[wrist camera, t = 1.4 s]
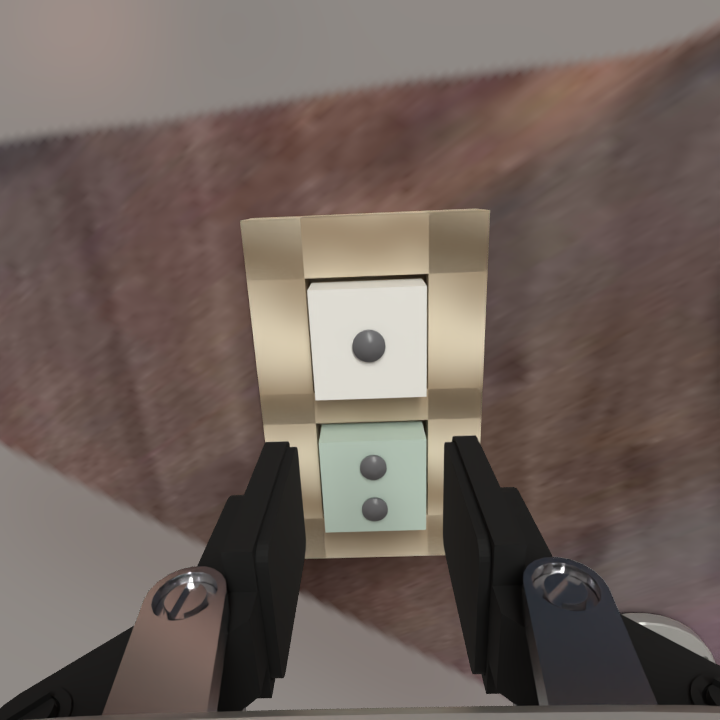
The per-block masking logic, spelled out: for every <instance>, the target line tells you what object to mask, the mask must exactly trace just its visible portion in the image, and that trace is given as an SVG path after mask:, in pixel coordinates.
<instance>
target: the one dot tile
mask: <svg viewBox="0 0 720 720" xmlns="http://www.w3.org/2000/svg"><path fill="white" fill-rule="evenodd" d="M307 295H308V308H309V322H310V335H311V348H312V361H313V374H314V388H315V400H344V399H374V398H403V397H426V391H427V285H426V284H425V283H424V281H423V280H422V278H418V279H392V280H366V281H341V282H315V283H311V285H310V287H309V288H308V290H307Z"/></svg>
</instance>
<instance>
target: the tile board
mask: <svg viewBox="0 0 720 720" xmlns="http://www.w3.org/2000/svg"><path fill="white" fill-rule="evenodd" d="M489 220H490V210H483V209H459V210H435V211H411V212H387V213H364V214H340V215H316V216H292V217H269V218H252V219H247V220H242V221H240V224H241V233H242V242H243V251H244V259H245V268H246V277H247V286H248V294H249V303H250V312H251V321H252V329H253V338H254V347H255V356H256V364H257V373H258V382H259V391H260V399H261V408H262V417H263V426H264V434H265V443H266V442H282V441H288V442H289V444H290V447H297V449H298V456H299V467H300V478H301V489H302V500H303V511H304V522H305V533H306V552H305V559H316V558H354V557H392V556H430V555H445V551H444V545H443V482H444V443H445V442H452V437H453V436H471V435H476V436H477V438H478V440H479V442H480V435H481V411H482V387H483V363H484V339H485V316H486V292H487V268H488V244H489ZM418 278H422V280H423V281H424V283H425V284H426V285H427V391H426V397H403V398H374V399H344V400H315V388H314V374H313V361H312V348H311V335H310V322H309V308H308V295H307V290H308V288H309V287H310V285H311V283H315V282H341V281H366V280H392V279H418ZM404 421H422V424H423V428H424V432H425V436H426V530H401V531H365V532H328V533H325V520H324V507H323V493H322V480H321V467H320V454H319V439H320V433H321V428H322V424H343V423H373V422H404Z"/></svg>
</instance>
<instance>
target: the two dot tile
mask: <svg viewBox="0 0 720 720" xmlns="http://www.w3.org/2000/svg"><path fill="white" fill-rule="evenodd" d="M319 454H320V467H321V480H322V493H323V507H324V520H325V533H328V532H365V531H401V530H426V436H425V432H424V428H423V424H422V421H404V422H373V423H343V424H322V428H321V433H320V439H319Z"/></svg>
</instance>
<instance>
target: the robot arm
mask: <svg viewBox="0 0 720 720" xmlns="http://www.w3.org/2000/svg"><path fill="white" fill-rule="evenodd" d="M443 545H444V551H445V555H446V560H447V564H448V569H449V573H450V578H451V582H452V587H453V591H454V596H455V600H456V605H457V609H458V614H459V618H460V622H461V627H462V631H463V636H464V640H465V645H466V649H467V654H468V658H469V663H470V667H471V671H472V673H473V674H482V678H483V682H484V686H485V690H486V694H499V693H500V694H502V695H503V696H505V697H506V698H507V699H509V700H510V701H511V702H513V706H479V707H478V706H474V707H473V706H472V707H416V708H415V707H414V708H361V709H315V710H314V709H311V710H268V711H246V707H247V706H248V705H249V704H251V703H252V702H253V701H254V700H255V699H257V698H272V693H273V688H274V682H275V678H284V676H285V672H286V666H287V660H288V654H289V648H290V642H291V636H292V630H293V624H294V618H295V612H296V606H297V601H298V595H299V589H300V583H301V577H302V571H303V565H304V559H305V552H306V533H305V522H304V511H303V500H302V489H301V478H300V467H299V456H298V449H297V447H290V444H289V442H288V441H282V442H266V443H265V445H264V447H263V449H262V452H261V454H260V457H259V459H258V462H257V464H256V467H255V469H254V472H253V474H252V477H251V479H250V482H249V484H248V486H247V489H246V491H245V494H244V495H232V496H230V497H229V498H228V500H227V502H226V504H225V506H224V509H223V511H222V513H221V515H220V517H219V520H218V522H217V524H216V526H215V528H214V531H213V533H212V535H211V537H210V539H209V542H208V544H207V546H206V548H205V550H204V553H203V555H202V557H201V559H200V561H199V564H198V566H194V567H193V566H192V567H188V568H184V569H180V570H178V571H175V572H173V573H170V574H168V575H167V576H165V577H164V578H162V579H161V580H159V581H158V582H157V583H156V584H155V585H154V586H153V587H152V588H151V589H150V590H149V591H148V593H147V595H146V597H145V598H144V600H143V603H142V605H141V608H140V611H139V614H138V617H137V619H136V622H135V625H134V626H133V627H131V628H129V629H128V630H126V631H124V632H123V633H121V634H119V635H118V636H116V637H114V638H113V639H111V640H109V641H108V642H106V643H104V644H103V645H101V646H99V647H97V648H96V649H94V650H92V651H91V652H89V653H87V654H86V655H84V656H82V657H81V658H79V659H77V660H76V661H74V662H72V663H71V664H69V665H67V666H66V667H64V668H62V669H61V670H59V671H57V672H56V673H54V674H52V675H51V676H49V677H47V678H45V679H44V680H42V681H40V682H39V683H37V684H35V685H34V686H32V687H30V688H29V689H27V690H25V691H24V692H22V693H20V694H19V695H17V696H16V697H15V698H13V699H12V700H10V701H9V702H8V703H6V704H5V705H3V706H2V707H1V708H0V720H720V666H719V665H717V664H716V663H715V660H714V658H713V656H712V654H711V652H710V650H709V649H708V648H707V646H706V645H705V644H704V642H703V641H702V640H701V638H700V637H699V636H698V635H697V634H696V633H695V632H693V631H692V630H691V629H690V628H689V627H687V626H685V625H684V624H682V623H680V622H679V621H676V620H673V619H670V618H668V617H665V616H660V615H655V614H649V613H626V614H620V613H619V610H618V608H617V606H616V603H615V601H614V598H613V596H612V594H611V591H610V589H609V587H608V586H607V584H606V583H605V581H604V579H602V578H601V577H600V576H599V575H598V574H597V573H596V572H595V571H594V570H592V569H590V568H589V567H587V566H585V565H584V564H581V563H579V562H576V561H573V560H571V559H566V558H560V557H553V556H552V554H551V553H550V551H549V549H548V547H547V545H546V543H545V541H544V539H543V537H542V535H541V533H540V531H539V529H538V527H537V526H536V524H535V522H534V520H533V518H532V516H531V514H530V512H529V510H528V508H527V506H526V504H525V502H524V501H523V499H522V497H521V495H520V493H519V491H518V490H517V488H515V487H504V488H500V486H499V483H498V481H497V479H496V477H495V475H494V473H493V471H492V468H491V466H490V464H489V462H488V460H487V458H486V455H485V453H484V451H483V449H482V447H481V445H480V442H479V440H478V438H477V436H476V435H471V436H453V437H452V442H445V443H444V482H443Z"/></svg>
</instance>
